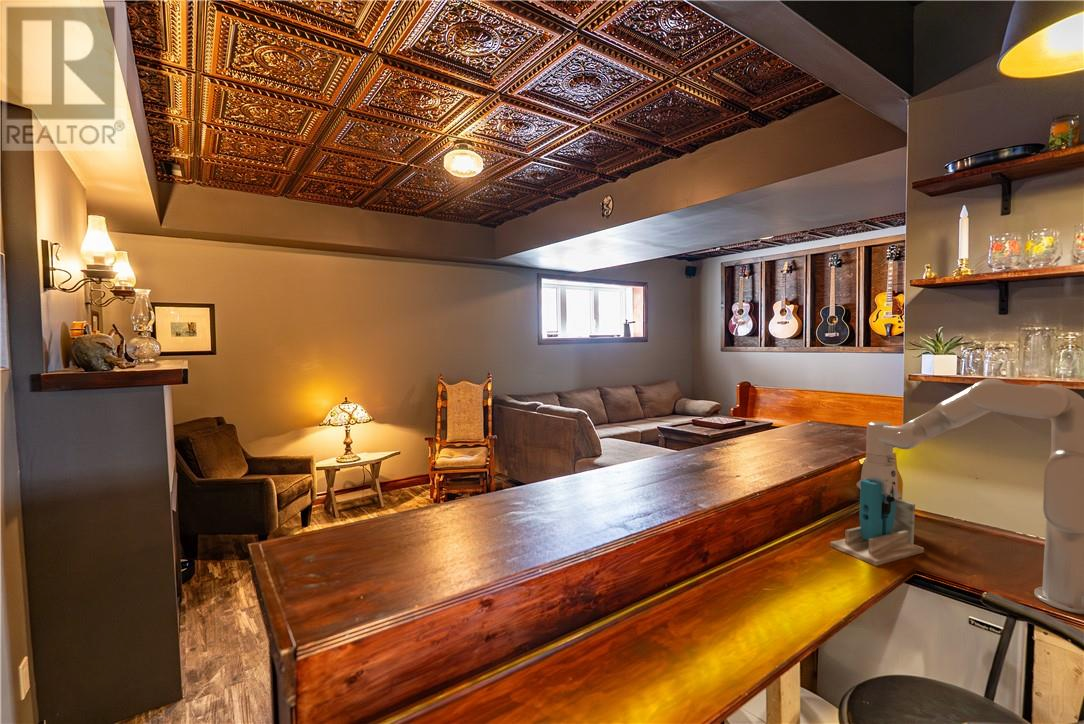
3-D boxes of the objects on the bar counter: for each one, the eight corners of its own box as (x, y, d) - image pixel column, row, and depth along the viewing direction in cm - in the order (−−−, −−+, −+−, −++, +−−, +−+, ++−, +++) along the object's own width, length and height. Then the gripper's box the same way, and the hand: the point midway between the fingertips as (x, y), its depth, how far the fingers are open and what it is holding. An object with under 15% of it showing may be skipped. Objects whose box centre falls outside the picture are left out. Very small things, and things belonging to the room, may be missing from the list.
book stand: (923, 552, 170) (925, 507, 169) (875, 565, 161) (877, 518, 160) (876, 534, 185) (877, 493, 184) (830, 546, 176) (831, 502, 175)
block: (880, 532, 177) (882, 476, 176) (895, 537, 173) (897, 479, 171) (857, 538, 173) (859, 480, 171) (872, 543, 168) (874, 484, 167)
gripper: (913, 463, 164) (910, 518, 166) (862, 451, 180) (860, 502, 181) (897, 466, 162) (895, 521, 163) (847, 454, 177) (846, 505, 179)
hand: (877, 510), depth 172 cm, fingers closed on block, 5 cm apart
